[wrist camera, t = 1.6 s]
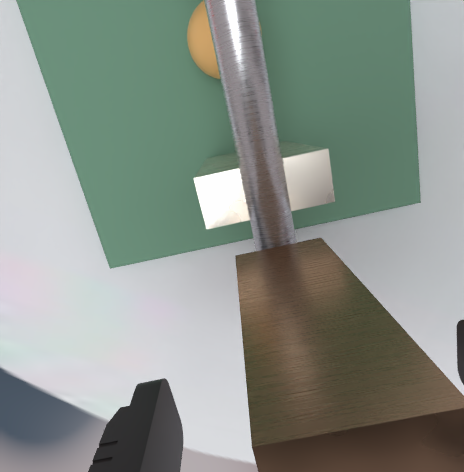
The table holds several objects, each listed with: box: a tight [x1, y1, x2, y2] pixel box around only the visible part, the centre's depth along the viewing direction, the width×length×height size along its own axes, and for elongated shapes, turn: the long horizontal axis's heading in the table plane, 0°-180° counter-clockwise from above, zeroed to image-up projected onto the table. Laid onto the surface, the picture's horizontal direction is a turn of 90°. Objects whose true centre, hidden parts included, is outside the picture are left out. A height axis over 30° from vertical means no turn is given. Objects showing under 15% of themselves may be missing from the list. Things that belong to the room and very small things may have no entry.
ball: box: [187, 0, 262, 79], centre depth 18 cm, size 4×4×4 cm
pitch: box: [16, 0, 421, 269], centre depth 21 cm, size 22×24×1 cm
